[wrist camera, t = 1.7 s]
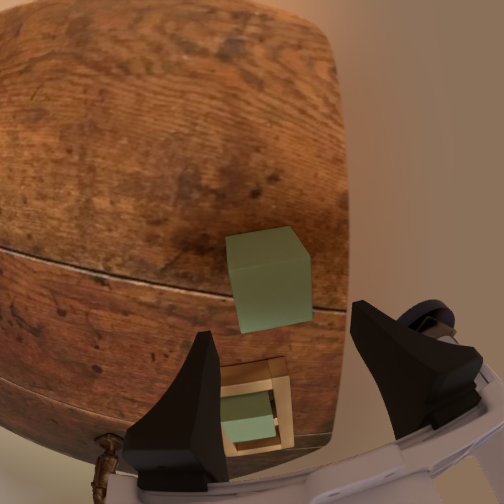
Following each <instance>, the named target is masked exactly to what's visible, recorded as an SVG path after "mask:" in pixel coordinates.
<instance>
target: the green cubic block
mask: <svg viewBox="0 0 504 504" xmlns="http://www.w3.org/2000/svg"><path fill="white" fill-rule="evenodd" d="M220 416H221V424H222V426H223V428H224V430H225V432H226V434H227V436H228V439H229V441H230V443H234V442H242V441H249V440H256V439H262V438H268V437H274V436H276V432H275V426H274V420H273V414H272V409H271V405H270V400H269V395H268V390H265V391H259V392H253V393H247V394H241V395H234V396H227V397H221V404H220Z"/></svg>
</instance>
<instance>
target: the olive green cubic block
mask: <svg viewBox="0 0 504 504" xmlns="http://www.w3.org/2000/svg"><path fill="white" fill-rule="evenodd" d="M225 239H226V252H227V264H228V273H229V278H230V283H231V288H232V293H233V298H234V302H235V307H236V312H237V316H238V321H239V326H240V330H241V333H248V332H253V331H259V330H264V329H270V328H275V327H280V326H285V325H290V324H295V323H300V322H304V321H309V320H312V319H313V314H312V278H311V256H310V255H309V253H308V252H307V250H306V249H305V247H304V246H303V244H302V243H301V241H300V240H299V239H298V237H297V236H296V234H295V233H294V231H293V230H292V228H291V227H290V226H285V227H279V228H273V229H267V230H261V231H255V232H249V233H243V234H238V235H232V236H226V237H225Z"/></svg>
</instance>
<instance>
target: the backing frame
mask: <svg viewBox="0 0 504 504" xmlns="http://www.w3.org/2000/svg"><path fill="white" fill-rule="evenodd" d="M220 372H221V397H227V396H234V395H241V394H247V393H253V392H259V391H265V390H270V389H272V393H273V399H274V401H271V402H270V405H271V409H272V414H273V420H274V426H275V425H278V429H277V430H275V432H276V436H274V437H268V438H262V439H256V440H249V441H242V442H234V443H230V441H229V439H228V436H227V434H226V432H225V430H224V428H223V426H222V424H221V428H222V437H223V445H224V452H225V454H226V456H227V457H231V456H239V455H247V454H254V453H261V452H267V451H273V450H278V449H284V448H289V447H293V446H294V435H293V419H292V404H291V390H290V377H289V372H288V369H287V365H286V362H285V358H284V357H279V358H274V359H269V360H268V361H267V360H263V361H258V362H252V363H246V364H240V365H234V366H227V367H220Z"/></svg>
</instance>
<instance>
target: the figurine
mask: <svg viewBox="0 0 504 504" xmlns="http://www.w3.org/2000/svg"><path fill="white" fill-rule="evenodd" d="M94 443H95V444H96V445H97V446H99V447H101V448H102V449H104V450H105V452H104V454H102V455H101V456H99V457H98V459H97V460H96V466H95V475H94V480H93V482H92V483H91V486H92V487H93V490H92V491H93V499H94V504H105V501H106V493H107V485H108V478H109V474H116V472H115V471H116V469H117V466H118V465H119V461H118V460H119V458H118V457H117V456H116V455H115V452H117V451H121V450H122V449H123V443H124V440H123V439H121V438H120V437H118V436H116V435H113V434H106V435H104V436H101V437H99V438H96V439H94Z"/></svg>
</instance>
